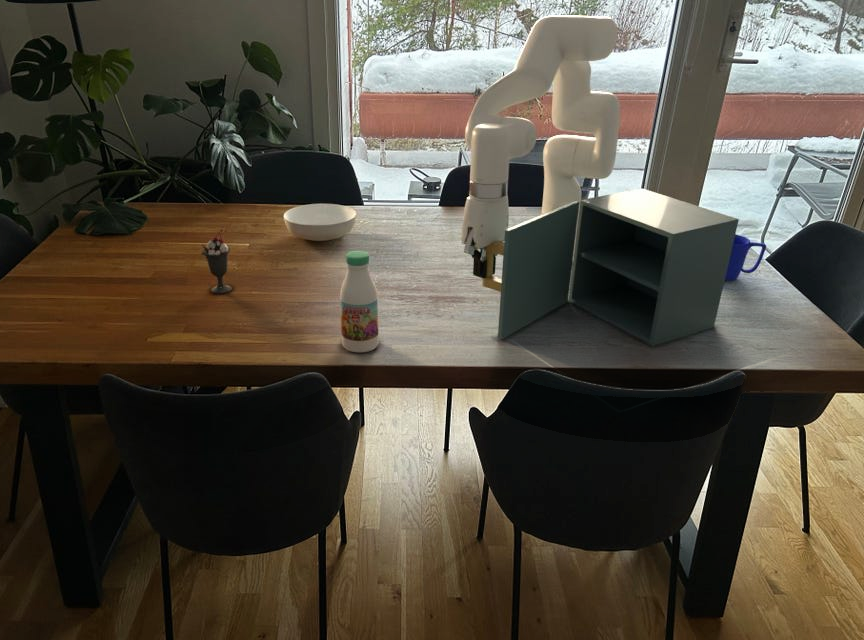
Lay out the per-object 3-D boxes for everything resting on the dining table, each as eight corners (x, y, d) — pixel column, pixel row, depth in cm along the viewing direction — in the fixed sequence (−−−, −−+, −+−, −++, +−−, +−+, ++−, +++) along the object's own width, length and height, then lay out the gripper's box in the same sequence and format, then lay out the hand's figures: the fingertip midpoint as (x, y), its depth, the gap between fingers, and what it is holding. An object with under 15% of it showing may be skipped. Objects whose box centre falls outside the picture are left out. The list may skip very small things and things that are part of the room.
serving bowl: (355, 248, 201) (354, 224, 197) (280, 249, 201) (278, 225, 198) (358, 224, 219) (358, 202, 216) (290, 225, 219) (288, 203, 216)
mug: (761, 285, 173) (771, 246, 169) (708, 282, 176) (717, 243, 171) (753, 273, 180) (762, 235, 176) (702, 270, 183) (710, 232, 178)
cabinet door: (471, 328, 155) (476, 222, 144) (538, 292, 172) (547, 194, 160) (501, 339, 151) (509, 230, 139) (567, 301, 167) (579, 201, 155)
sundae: (240, 286, 178) (233, 228, 171) (224, 296, 173) (216, 237, 165) (218, 282, 180) (210, 225, 173) (202, 292, 175) (193, 233, 168)
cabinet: (652, 346, 147) (673, 234, 136) (568, 301, 167) (580, 199, 156) (714, 327, 154) (738, 219, 143) (626, 286, 175) (641, 188, 163)
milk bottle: (341, 337, 153) (337, 248, 143) (377, 335, 153) (375, 246, 144) (342, 354, 146) (338, 262, 137) (380, 352, 147) (378, 260, 137)
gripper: (498, 177, 150) (494, 260, 159) (447, 193, 141) (445, 280, 150) (528, 184, 146) (521, 269, 155) (476, 201, 136) (472, 290, 145)
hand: (483, 274), depth 152 cm, fingers closed on cabinet door, 2 cm apart
